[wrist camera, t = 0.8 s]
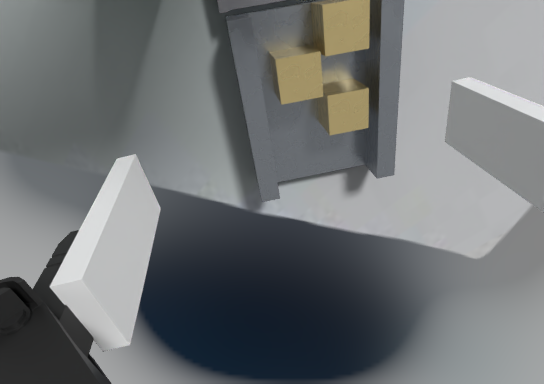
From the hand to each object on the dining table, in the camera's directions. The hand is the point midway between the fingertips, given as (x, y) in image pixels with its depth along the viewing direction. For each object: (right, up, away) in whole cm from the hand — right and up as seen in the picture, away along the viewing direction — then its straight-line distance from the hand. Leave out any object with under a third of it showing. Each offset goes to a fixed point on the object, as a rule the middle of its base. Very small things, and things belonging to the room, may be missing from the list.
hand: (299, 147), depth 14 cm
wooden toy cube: (+1, +10, +19) cm, 22 cm away
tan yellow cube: (+6, +8, +22) cm, 24 cm away
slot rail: (+3, +9, +23) cm, 24 cm away
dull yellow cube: (+5, +14, +18) cm, 23 cm away
